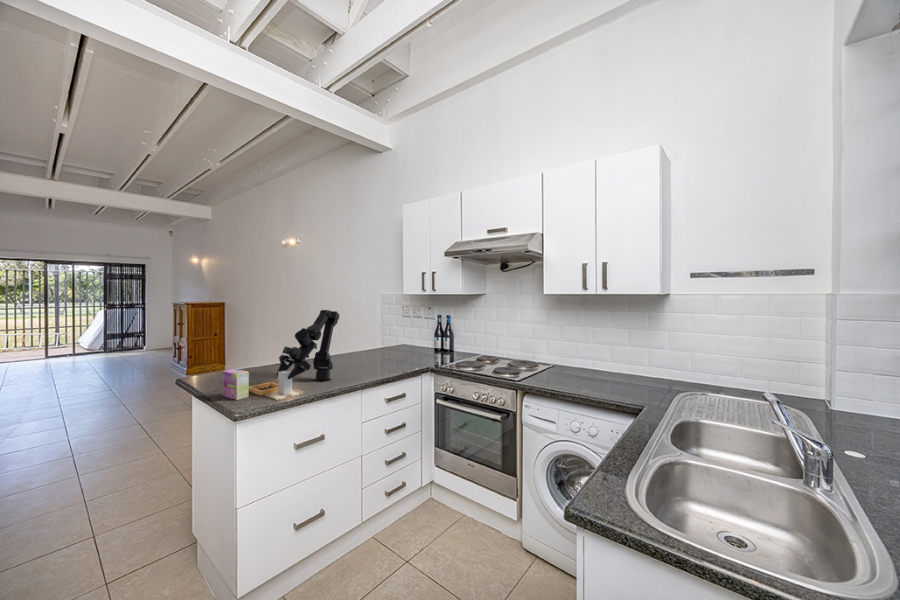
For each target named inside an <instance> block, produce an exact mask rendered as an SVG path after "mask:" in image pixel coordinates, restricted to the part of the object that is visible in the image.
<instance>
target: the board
mask: <svg viewBox="0 0 900 600" xmlns="http://www.w3.org/2000/svg"><path fill="white" fill-rule="evenodd" d="M303 393H306V392H305V391H304V390H300V389H297V388H293V387H292V393H290V394H286V395H282V394H280V393H278V391H277V392H273V393H268V394H265V395H264V397H266V396H267V397H266V398H269V397H270V399H271V398H272V399H271V400H275V401H279V399H280V400H284V399H288V398H292V397H295V395H297V396H300V395H299V394H301V395H303ZM283 398H284V399H283Z"/></svg>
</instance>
